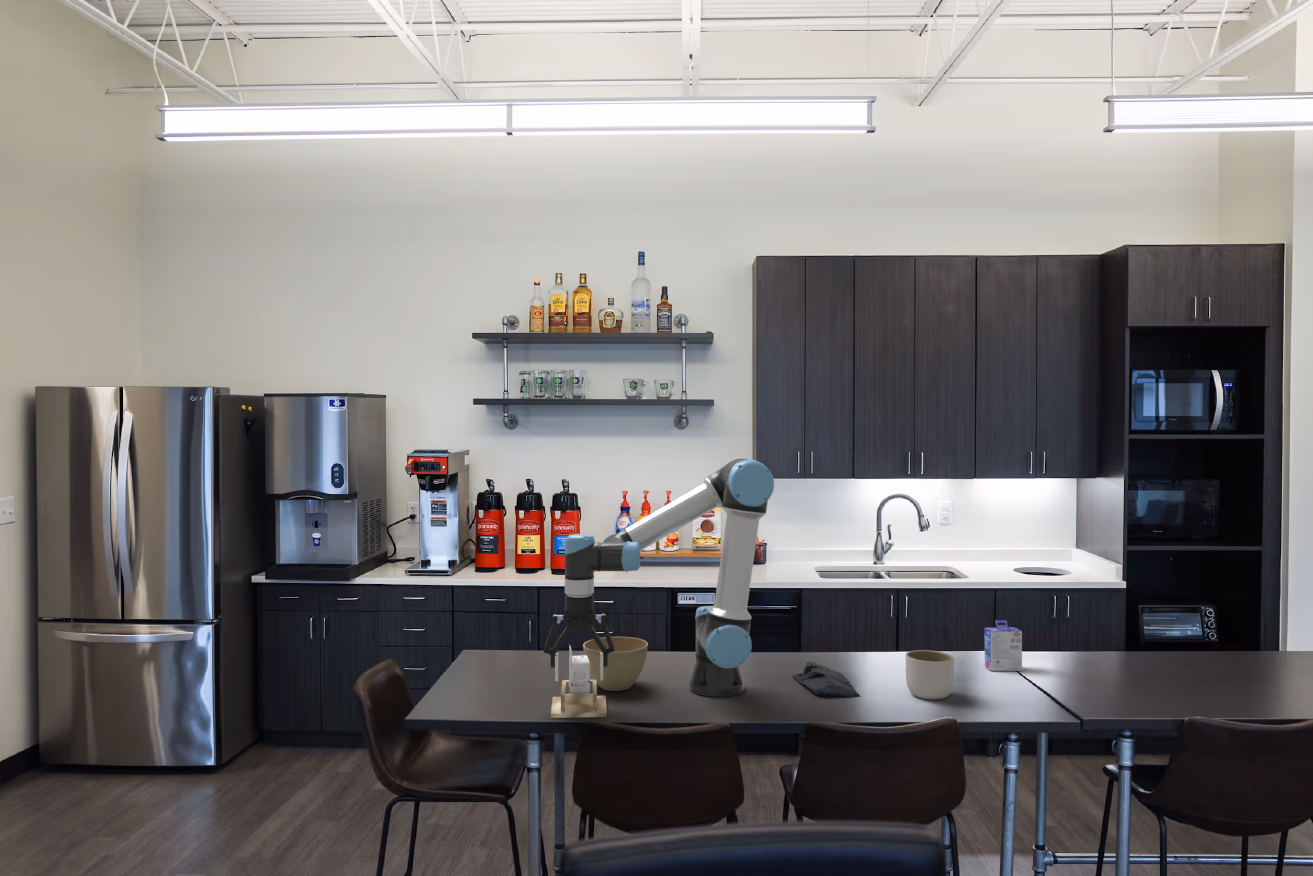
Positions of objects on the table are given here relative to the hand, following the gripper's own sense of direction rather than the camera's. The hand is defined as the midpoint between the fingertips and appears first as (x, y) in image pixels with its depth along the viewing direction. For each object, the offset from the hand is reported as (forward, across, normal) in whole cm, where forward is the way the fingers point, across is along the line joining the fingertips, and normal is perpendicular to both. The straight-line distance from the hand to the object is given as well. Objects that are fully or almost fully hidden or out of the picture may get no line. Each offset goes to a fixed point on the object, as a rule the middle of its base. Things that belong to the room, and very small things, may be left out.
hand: (579, 679), depth 220 cm
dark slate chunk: (+8, -69, -15) cm, 71 cm away
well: (+7, 0, 0) cm, 7 cm away
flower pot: (+8, -10, -18) cm, 22 cm away
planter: (+8, -95, -4) cm, 95 cm away
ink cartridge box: (+8, -128, -28) cm, 131 cm away
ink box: (+7, 0, 0) cm, 7 cm away
